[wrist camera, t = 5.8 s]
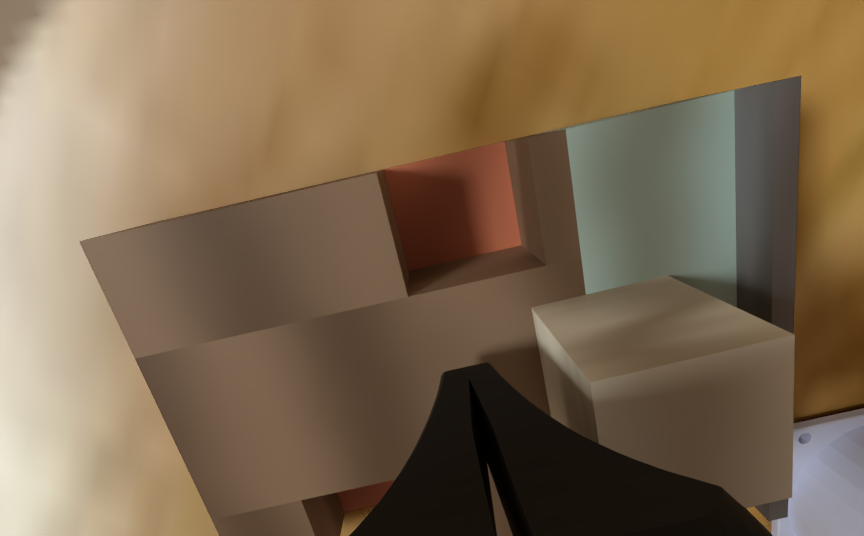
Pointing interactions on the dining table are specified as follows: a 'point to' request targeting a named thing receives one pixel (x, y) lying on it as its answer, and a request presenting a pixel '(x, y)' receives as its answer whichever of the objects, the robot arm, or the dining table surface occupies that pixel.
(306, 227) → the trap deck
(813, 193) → the dining table surface
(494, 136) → the dining table surface
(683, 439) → the block
